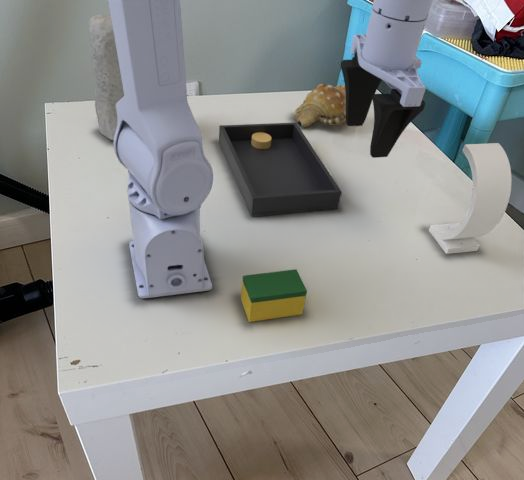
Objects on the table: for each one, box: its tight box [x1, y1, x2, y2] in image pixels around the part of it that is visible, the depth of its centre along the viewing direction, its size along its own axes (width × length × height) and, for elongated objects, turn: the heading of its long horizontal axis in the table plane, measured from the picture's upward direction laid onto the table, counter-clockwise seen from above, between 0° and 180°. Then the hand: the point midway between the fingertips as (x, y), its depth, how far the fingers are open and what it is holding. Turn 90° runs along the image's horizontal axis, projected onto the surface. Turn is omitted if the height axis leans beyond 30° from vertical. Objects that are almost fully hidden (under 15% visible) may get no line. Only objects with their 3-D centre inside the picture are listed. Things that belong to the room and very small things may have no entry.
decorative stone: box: [88, 14, 124, 141], centre depth 71 cm, size 11×6×15 cm, turn 131°
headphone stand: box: [428, 142, 512, 255], centre depth 61 cm, size 5×6×12 cm
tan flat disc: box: [251, 132, 272, 149], centre depth 76 cm, size 3×3×1 cm
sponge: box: [240, 268, 308, 323], centre depth 53 cm, size 6×4×4 cm, turn 106°
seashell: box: [293, 83, 346, 128], centre depth 83 cm, size 9×8×10 cm
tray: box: [218, 122, 343, 217], centre depth 71 cm, size 19×12×3 cm, turn 16°
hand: (366, 139), depth 62 cm, fingers open, 7 cm apart
